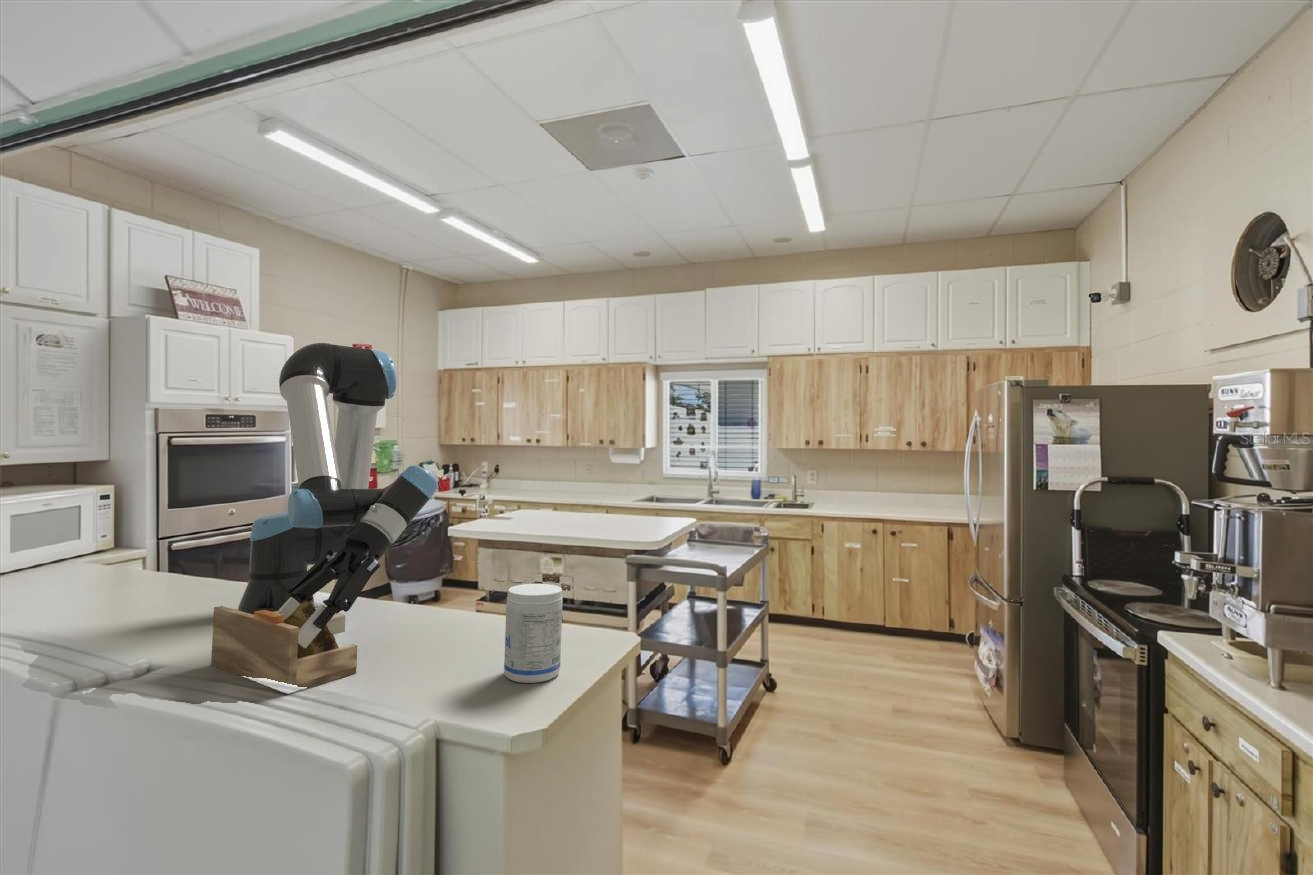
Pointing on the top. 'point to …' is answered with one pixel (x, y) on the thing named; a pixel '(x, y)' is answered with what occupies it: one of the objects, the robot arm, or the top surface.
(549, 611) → the supplement tub
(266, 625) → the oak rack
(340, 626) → the grey cinder block
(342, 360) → the robot arm
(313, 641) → the rock
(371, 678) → the top surface
